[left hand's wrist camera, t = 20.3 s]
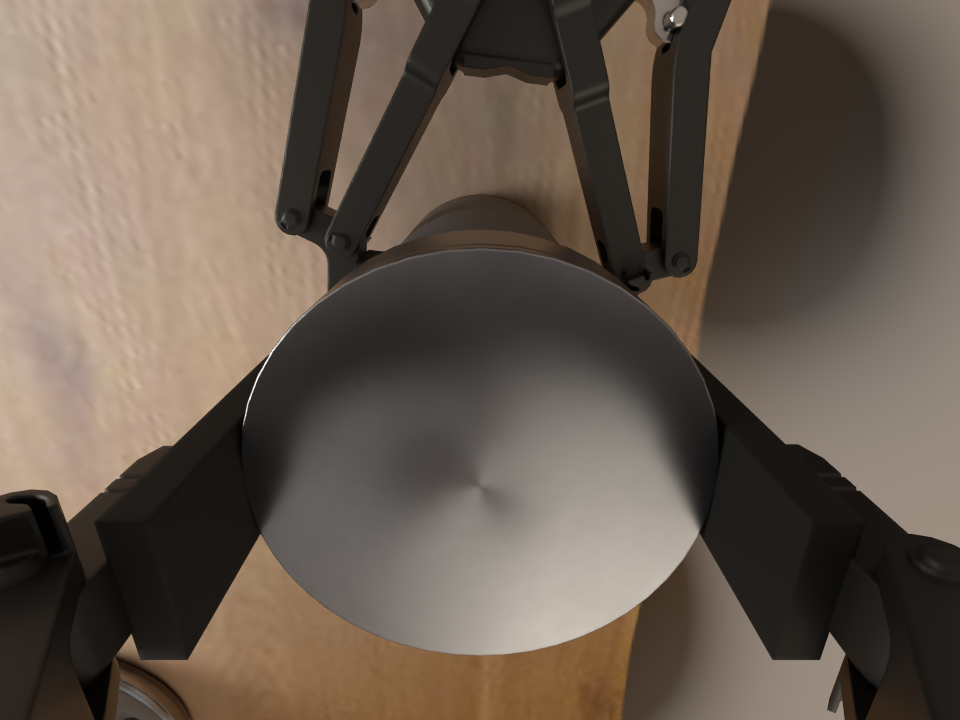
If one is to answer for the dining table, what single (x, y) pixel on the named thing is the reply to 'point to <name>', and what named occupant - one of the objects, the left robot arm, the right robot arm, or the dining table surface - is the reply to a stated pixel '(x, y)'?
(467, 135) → the dining table surface
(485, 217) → the jar
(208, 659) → the dining table surface
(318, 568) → the lid
